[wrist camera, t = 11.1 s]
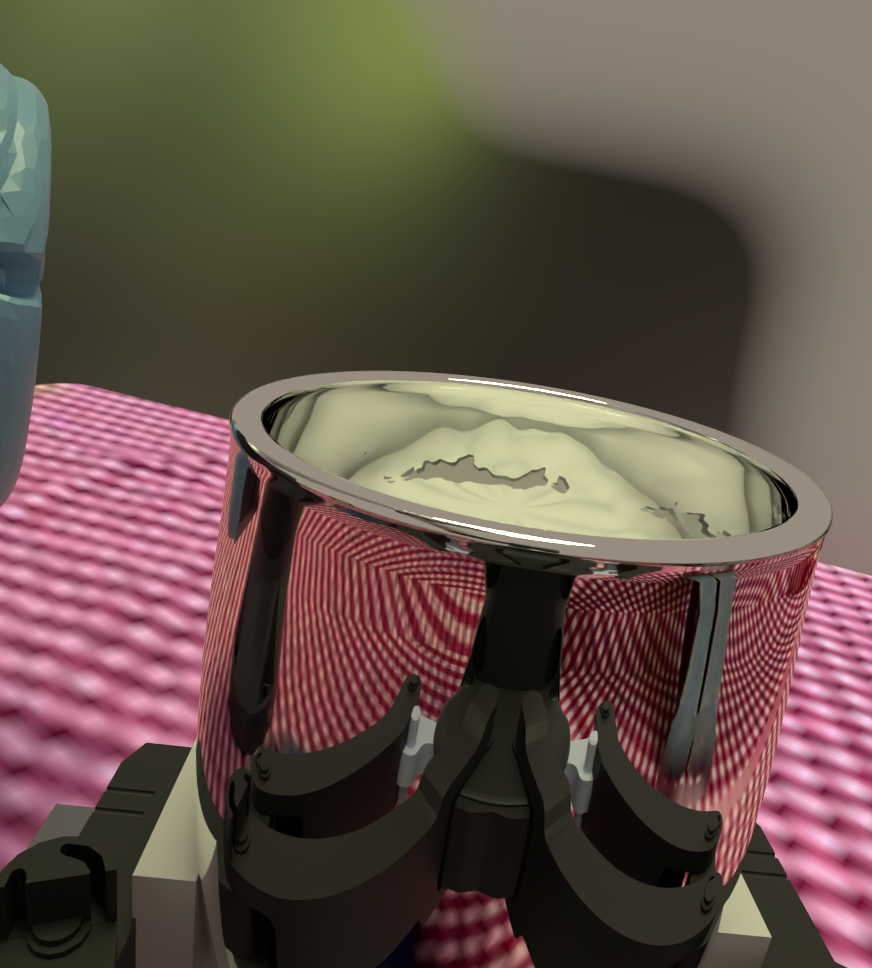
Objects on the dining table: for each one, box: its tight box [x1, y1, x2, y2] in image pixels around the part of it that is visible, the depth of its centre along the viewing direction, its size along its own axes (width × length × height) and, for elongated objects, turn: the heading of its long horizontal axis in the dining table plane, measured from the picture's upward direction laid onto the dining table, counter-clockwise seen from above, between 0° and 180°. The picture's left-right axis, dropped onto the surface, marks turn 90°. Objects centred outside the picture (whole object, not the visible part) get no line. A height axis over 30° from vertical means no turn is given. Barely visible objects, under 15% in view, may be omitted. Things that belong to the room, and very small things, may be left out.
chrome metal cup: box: [196, 371, 833, 968], centre depth 11 cm, size 7×7×15 cm
